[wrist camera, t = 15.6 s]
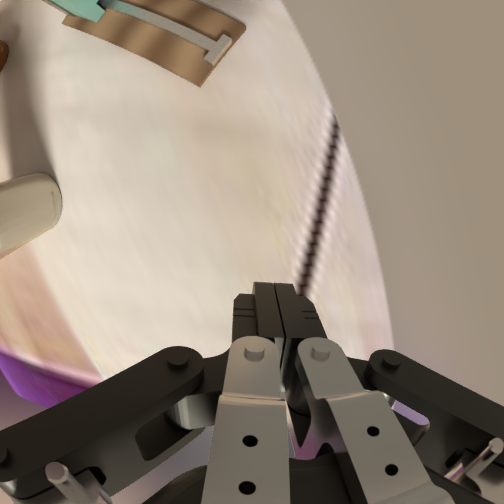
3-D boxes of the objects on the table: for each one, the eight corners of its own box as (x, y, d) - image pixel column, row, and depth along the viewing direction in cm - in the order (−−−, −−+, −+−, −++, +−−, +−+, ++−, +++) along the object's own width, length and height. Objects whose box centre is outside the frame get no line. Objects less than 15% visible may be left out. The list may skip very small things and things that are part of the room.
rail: (239, 34, 28) (238, 3, 20) (205, 76, 30) (194, 55, 22) (95, -21, 22) (69, -45, 14) (67, 14, 24) (35, -4, 16)
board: (246, 29, 29) (246, 26, 28) (200, 87, 32) (198, 85, 31) (104, -25, 23) (101, -28, 22) (65, 25, 26) (61, 23, 25)
